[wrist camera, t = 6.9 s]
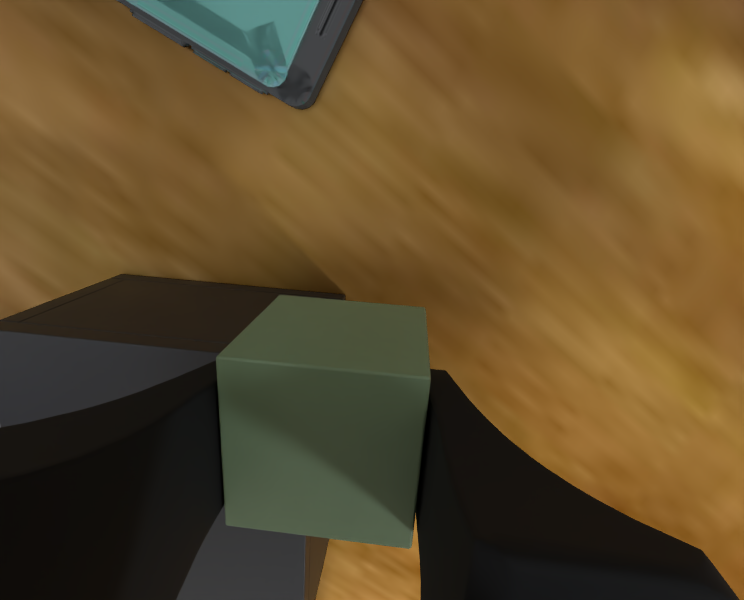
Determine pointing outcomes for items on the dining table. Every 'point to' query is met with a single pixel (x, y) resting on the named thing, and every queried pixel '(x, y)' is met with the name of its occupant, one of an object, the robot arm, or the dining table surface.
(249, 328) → the block
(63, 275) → the dining table surface
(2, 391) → the black drawer box
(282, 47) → the smartphone
